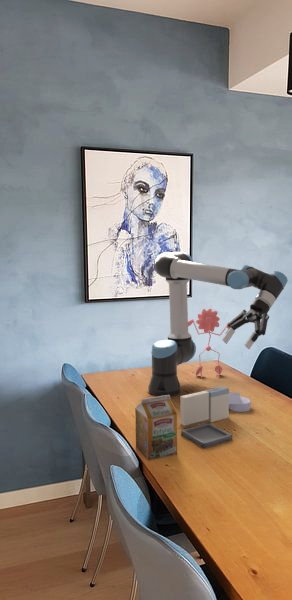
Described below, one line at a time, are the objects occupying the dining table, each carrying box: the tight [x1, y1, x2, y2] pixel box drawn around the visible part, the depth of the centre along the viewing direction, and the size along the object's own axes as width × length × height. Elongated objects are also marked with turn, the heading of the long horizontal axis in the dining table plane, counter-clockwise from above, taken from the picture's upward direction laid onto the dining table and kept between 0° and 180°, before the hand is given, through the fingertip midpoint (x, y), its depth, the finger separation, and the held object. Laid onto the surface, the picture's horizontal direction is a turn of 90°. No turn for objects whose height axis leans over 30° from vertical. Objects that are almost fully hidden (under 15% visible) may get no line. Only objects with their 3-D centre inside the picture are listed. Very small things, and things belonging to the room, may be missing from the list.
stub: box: [204, 385, 230, 423], centre depth 187 cm, size 4×9×12 cm, turn 122°
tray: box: [180, 422, 233, 450], centre depth 170 cm, size 13×13×2 cm
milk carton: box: [134, 395, 178, 461], centre depth 159 cm, size 11×10×19 cm
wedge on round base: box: [229, 391, 252, 413], centre depth 199 cm, size 9×7×13 cm
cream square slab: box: [179, 390, 210, 430], centre depth 182 cm, size 3×12×12 cm, turn 122°
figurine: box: [188, 308, 230, 379], centre depth 246 cm, size 15×26×35 cm, turn 96°
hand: (235, 344), depth 190 cm, fingers open, 13 cm apart
